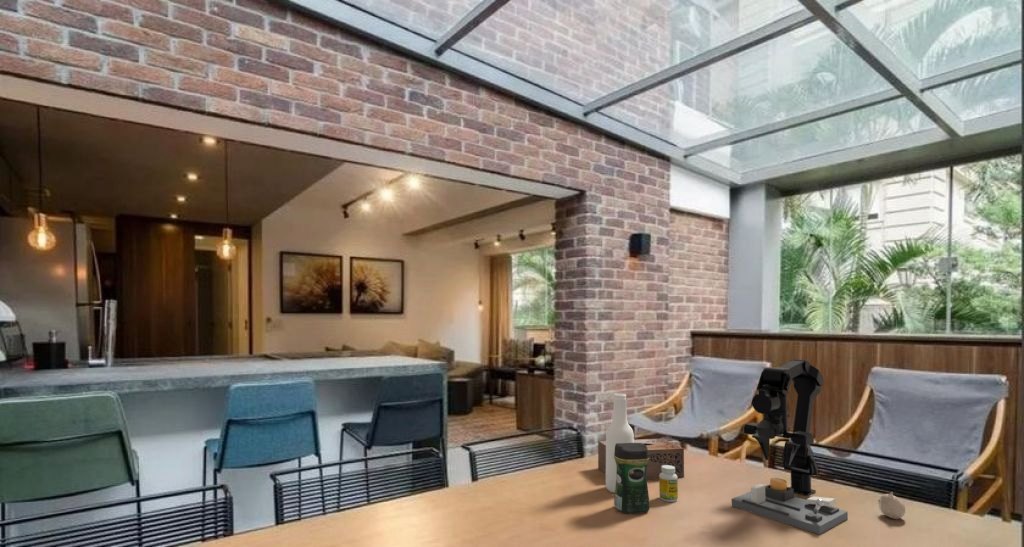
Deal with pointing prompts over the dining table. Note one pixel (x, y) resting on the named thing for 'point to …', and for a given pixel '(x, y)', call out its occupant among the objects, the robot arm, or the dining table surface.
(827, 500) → the white slab
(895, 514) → the garlic bulb
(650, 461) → the tissue box cover
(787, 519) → the panel
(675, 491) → the supplement bottle
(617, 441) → the alcohol
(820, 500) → the toggle lever
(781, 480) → the push button
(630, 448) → the coffee jar
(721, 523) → the dining table surface
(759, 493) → the grey angular block
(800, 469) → the robot arm
